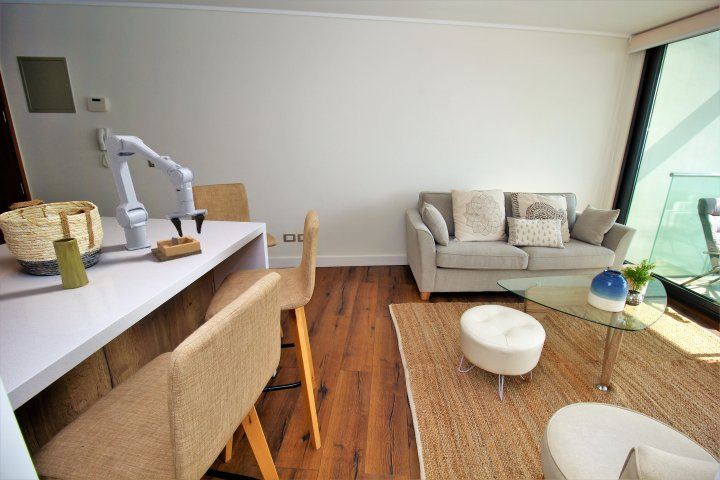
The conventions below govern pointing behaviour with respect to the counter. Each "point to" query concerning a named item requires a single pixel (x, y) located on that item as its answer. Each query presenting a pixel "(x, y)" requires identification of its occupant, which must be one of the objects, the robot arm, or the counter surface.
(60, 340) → the counter surface
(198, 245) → the wooden square frame
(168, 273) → the counter surface
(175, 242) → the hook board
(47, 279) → the counter surface
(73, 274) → the vase
